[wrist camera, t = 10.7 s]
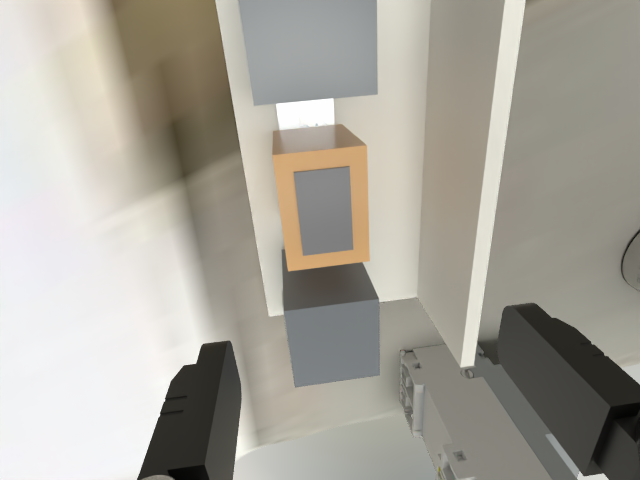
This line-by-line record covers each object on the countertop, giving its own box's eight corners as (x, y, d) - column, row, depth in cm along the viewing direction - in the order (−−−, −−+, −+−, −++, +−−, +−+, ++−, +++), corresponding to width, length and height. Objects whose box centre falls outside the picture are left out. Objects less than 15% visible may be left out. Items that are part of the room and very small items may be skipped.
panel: (443, -77, 23) (549, -166, 14) (423, 290, 36) (473, 365, 27) (206, -63, 22) (161, -149, 13) (269, 310, 35) (267, 395, 26)
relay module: (341, 123, 26) (367, 145, 19) (346, 213, 30) (370, 262, 22) (272, 130, 26) (272, 155, 19) (284, 221, 29) (288, 272, 22)
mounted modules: (342, -28, 23) (376, -76, 15) (355, 304, 33) (379, 375, 26) (241, -21, 22) (224, -67, 15) (288, 313, 33) (292, 387, 25)
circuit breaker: (518, 382, 43) (630, 526, 29) (399, 400, 42) (458, 559, 28) (529, 331, 40) (660, 468, 26) (400, 350, 39) (467, 502, 25)
